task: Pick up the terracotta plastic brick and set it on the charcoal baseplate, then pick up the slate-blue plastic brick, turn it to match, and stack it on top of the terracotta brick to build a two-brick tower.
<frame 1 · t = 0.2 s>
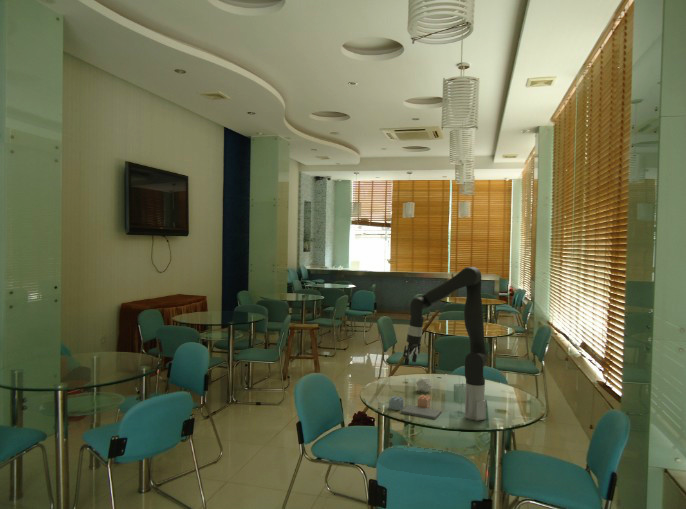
hand: (410, 363, 277), 22 cm above the table, tool pointing down, fingers open, 8 cm apart
brick terracotta: (423, 407, 274), on the table
baseplate: (421, 413, 264), on the table
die: (423, 391, 304), on the table
brick slate: (396, 408, 271), on the table
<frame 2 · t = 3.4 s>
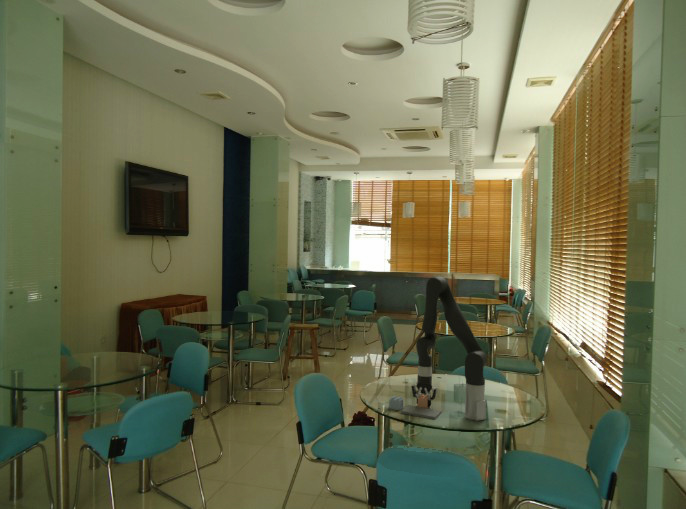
hand: (423, 405, 274), 0 cm above the table, tool pointing down, fingers closed on brick terracotta, 5 cm apart
brick terracotta: (423, 406, 274), on the table, touching gripper
everything else where it was.
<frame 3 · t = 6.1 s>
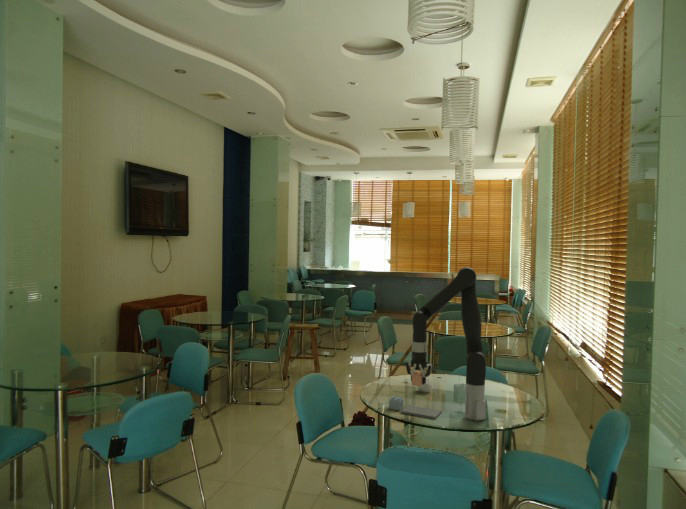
hand: (418, 383, 264), 15 cm above the table, tool pointing down, fingers closed on brick terracotta, 5 cm apart
brick terracotta: (418, 384, 264), point 14 cm above the table, touching gripper
everything else where it was.
when the fingers open (3 cm above the table, at t = 8.6 s): brick terracotta drops 1 cm, resting on baseplate.
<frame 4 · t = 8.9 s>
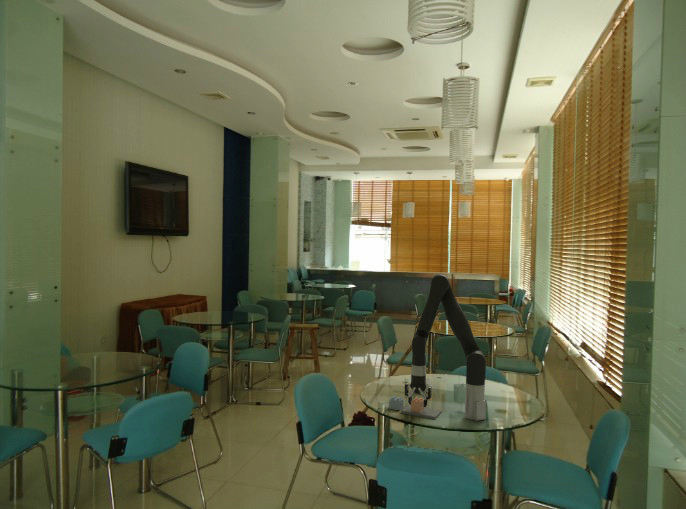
hand: (417, 405, 265), 4 cm above the table, tool pointing down, fingers open, 7 cm apart
brick terracotta: (417, 410, 265), point 1 cm above the table, touching baseplate
everything else where it was.
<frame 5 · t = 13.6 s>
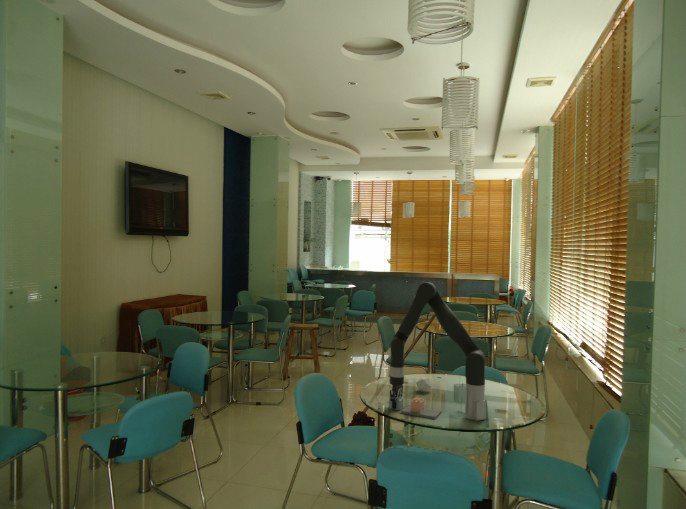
hand: (396, 407, 271), 0 cm above the table, tool pointing down, fingers closed on brick slate, 5 cm apart
brick slate: (396, 408, 271), on the table, touching gripper
everything else where it was.
when the fingers open (8 cm above the table, at t = 19.3 s): brick slate stays where it is, resting on brick terracotta.
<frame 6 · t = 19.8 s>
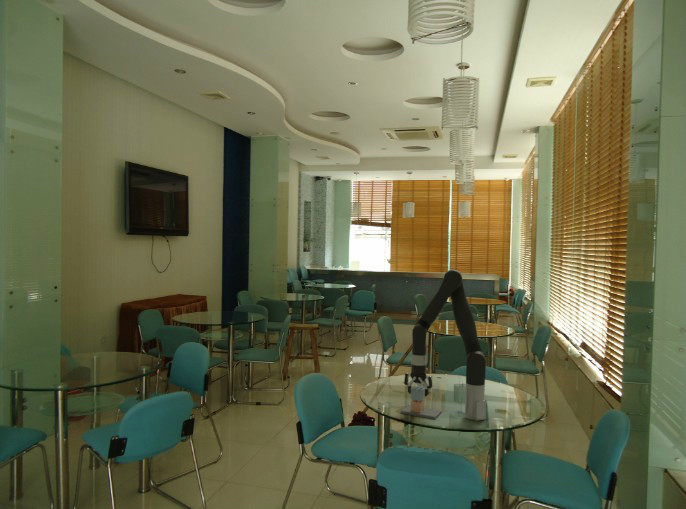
hand: (418, 394, 264), 9 cm above the table, tool pointing down, fingers open, 8 cm apart
brick terracotta: (417, 410, 265), point 1 cm above the table, touching baseplate, brick slate
brick slate: (417, 398, 265), point 7 cm above the table, touching brick terracotta
everything else where it was.
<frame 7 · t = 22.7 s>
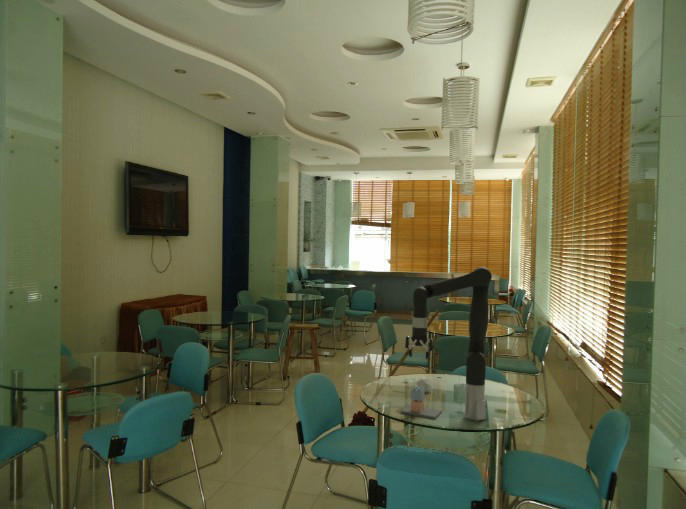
hand: (418, 357, 264), 28 cm above the table, tool pointing down, fingers open, 8 cm apart
nothing on the table moved.
at the end: brick terracotta 0.1 cm from the target spot on the baseplate, point 1.2 cm above the baseplate's base; brick slate 0.0 cm off-centre on the brick terracotta, point 5.8 cm above the brick terracotta's base; brick slate tilted 0° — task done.
